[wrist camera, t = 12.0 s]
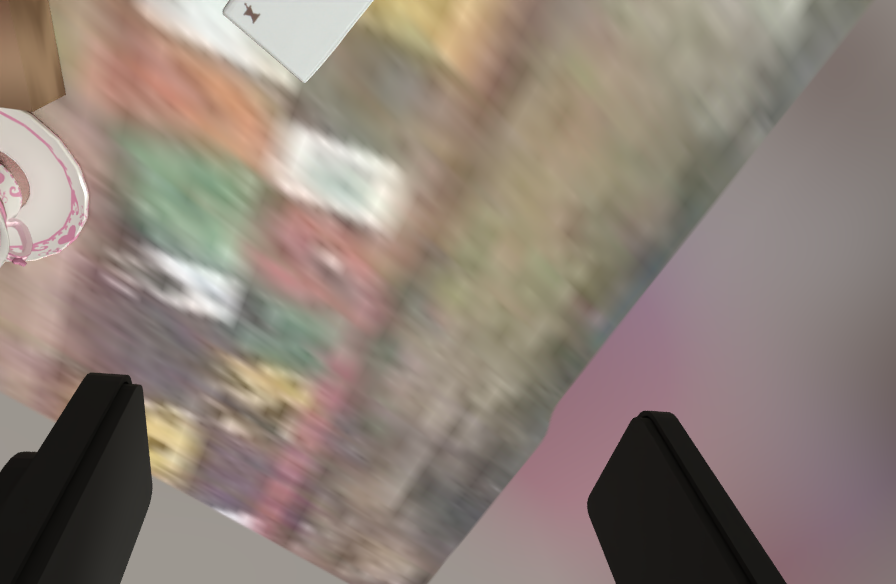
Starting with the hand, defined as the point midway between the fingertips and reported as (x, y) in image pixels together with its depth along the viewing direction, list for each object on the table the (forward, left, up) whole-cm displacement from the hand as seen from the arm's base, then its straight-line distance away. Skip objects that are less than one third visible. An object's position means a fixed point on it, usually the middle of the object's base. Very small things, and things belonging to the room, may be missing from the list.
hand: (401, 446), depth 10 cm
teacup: (+10, -24, -30) cm, 40 cm away
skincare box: (-6, -3, -30) cm, 31 cm away
